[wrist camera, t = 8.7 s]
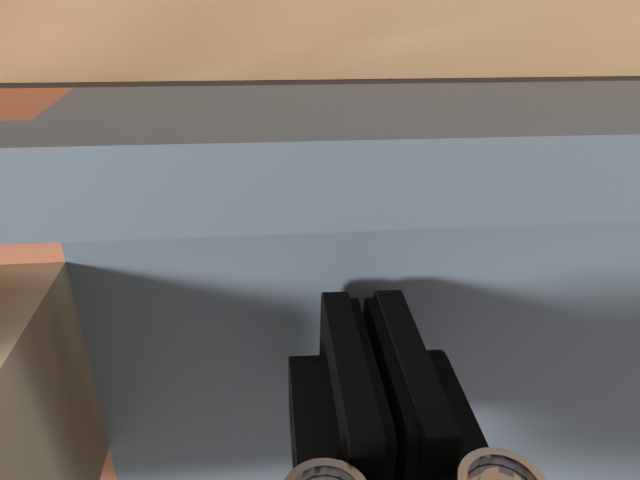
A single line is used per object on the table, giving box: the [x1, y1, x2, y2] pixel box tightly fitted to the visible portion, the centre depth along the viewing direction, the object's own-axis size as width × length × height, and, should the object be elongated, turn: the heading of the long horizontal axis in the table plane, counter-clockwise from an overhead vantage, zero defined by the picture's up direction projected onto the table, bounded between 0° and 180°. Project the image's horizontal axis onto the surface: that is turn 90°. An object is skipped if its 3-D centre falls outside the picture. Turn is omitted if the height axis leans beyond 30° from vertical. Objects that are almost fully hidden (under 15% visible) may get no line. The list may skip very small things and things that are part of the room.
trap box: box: [0, 76, 640, 480], centre depth 15 cm, size 32×18×6 cm, turn 89°
